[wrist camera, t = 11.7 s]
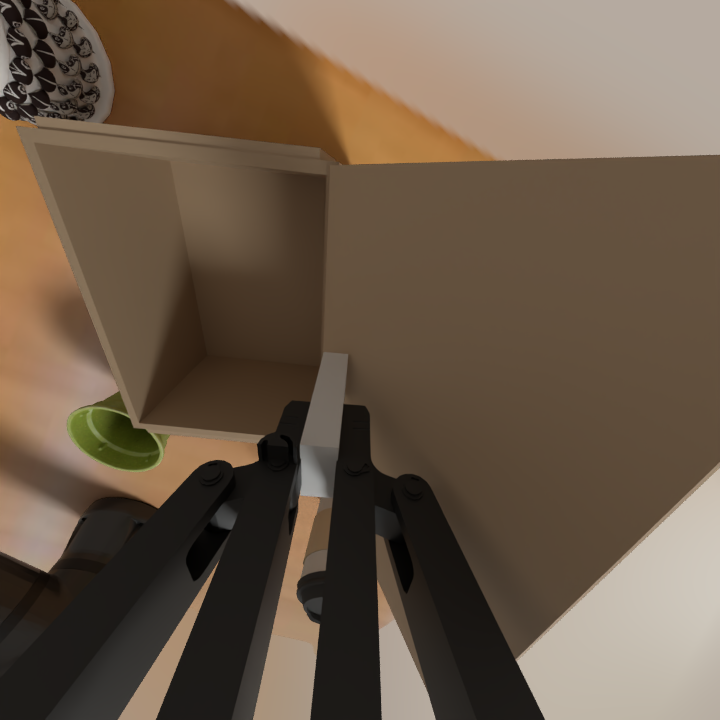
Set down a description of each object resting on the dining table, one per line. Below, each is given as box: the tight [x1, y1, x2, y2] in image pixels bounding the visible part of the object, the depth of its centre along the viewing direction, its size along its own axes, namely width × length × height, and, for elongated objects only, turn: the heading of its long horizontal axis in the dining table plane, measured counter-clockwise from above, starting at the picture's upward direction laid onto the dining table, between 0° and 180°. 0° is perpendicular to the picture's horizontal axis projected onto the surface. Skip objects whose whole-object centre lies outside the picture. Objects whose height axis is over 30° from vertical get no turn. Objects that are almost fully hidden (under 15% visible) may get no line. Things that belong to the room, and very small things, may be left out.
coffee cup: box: [297, 497, 333, 624], centre depth 41 cm, size 9×9×15 cm
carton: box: [16, 116, 342, 443], centre depth 25 cm, size 16×21×12 cm
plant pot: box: [67, 391, 170, 472], centre depth 34 cm, size 9×9×9 cm
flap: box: [323, 155, 720, 692], centre depth 13 cm, size 16×20×1 cm
